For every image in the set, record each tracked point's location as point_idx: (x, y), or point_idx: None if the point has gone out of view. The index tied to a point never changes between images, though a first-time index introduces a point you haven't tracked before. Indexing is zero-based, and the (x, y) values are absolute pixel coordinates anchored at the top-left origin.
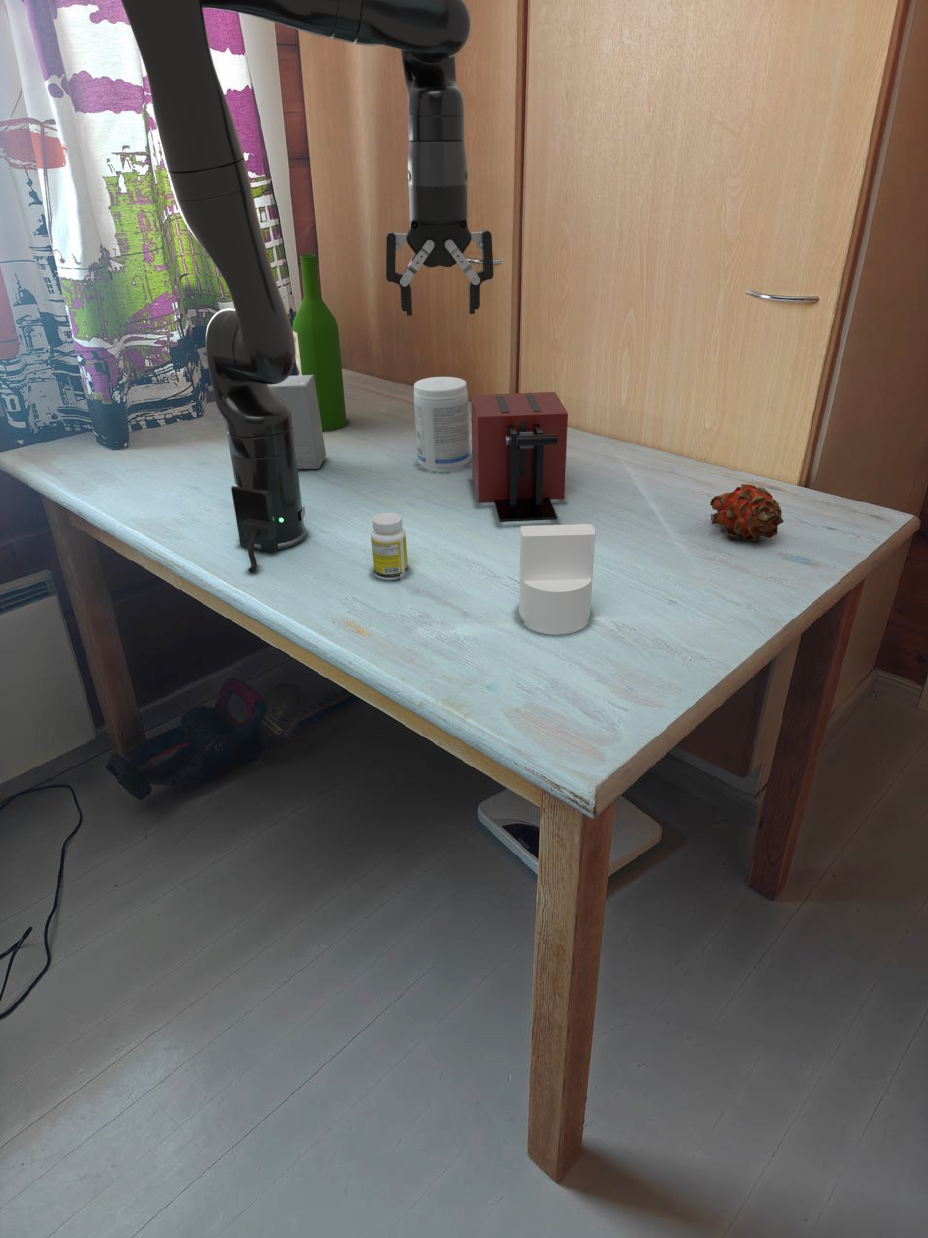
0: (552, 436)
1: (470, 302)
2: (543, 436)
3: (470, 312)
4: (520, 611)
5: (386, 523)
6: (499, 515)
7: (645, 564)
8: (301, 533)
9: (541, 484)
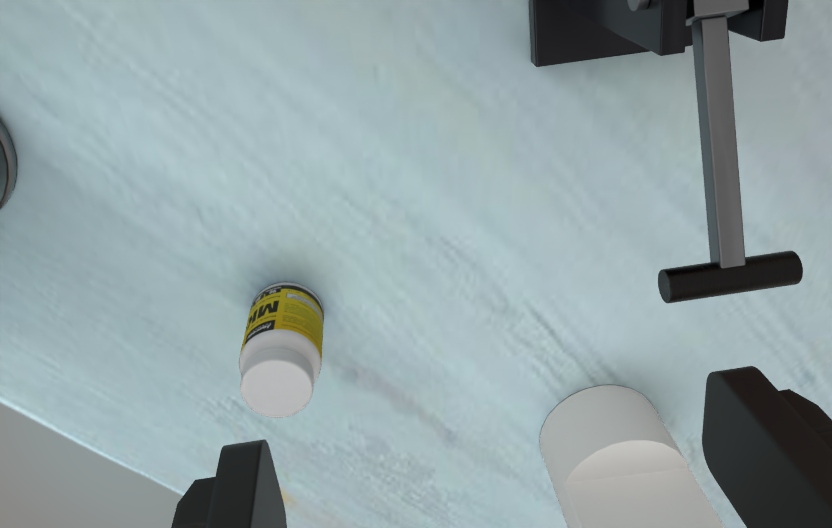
0: (782, 283)
1: (745, 519)
2: (754, 288)
3: (710, 464)
4: (545, 462)
5: (281, 413)
6: (538, 35)
7: (819, 247)
8: (7, 177)
9: None
